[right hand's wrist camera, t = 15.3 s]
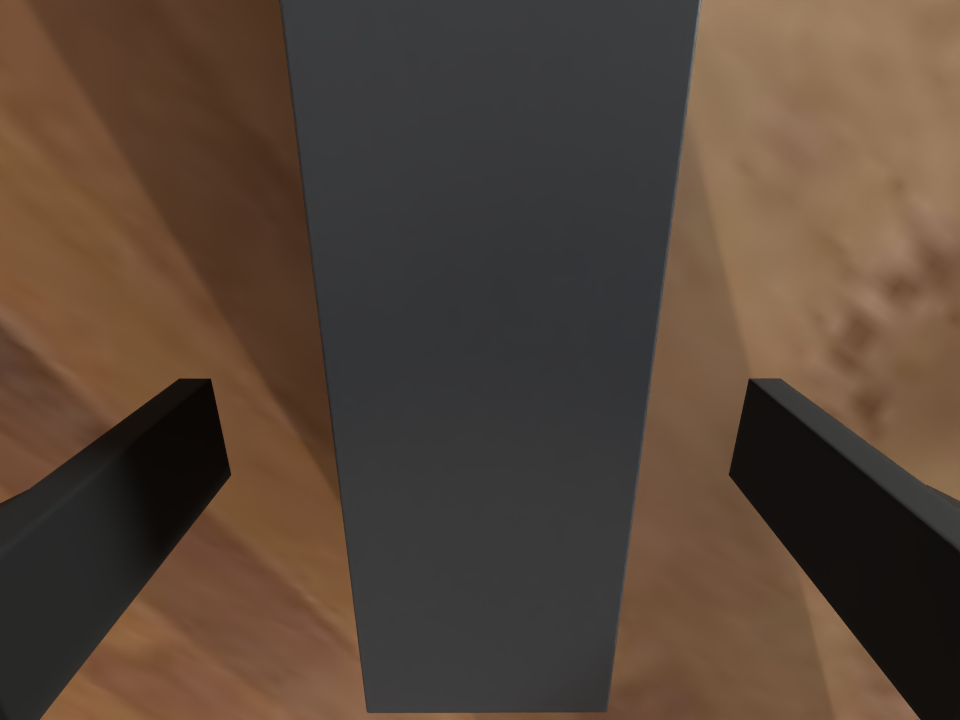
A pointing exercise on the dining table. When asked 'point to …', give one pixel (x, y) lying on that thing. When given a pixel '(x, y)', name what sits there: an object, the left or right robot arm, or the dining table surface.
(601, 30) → the bar
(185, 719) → the dining table surface
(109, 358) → the dining table surface
